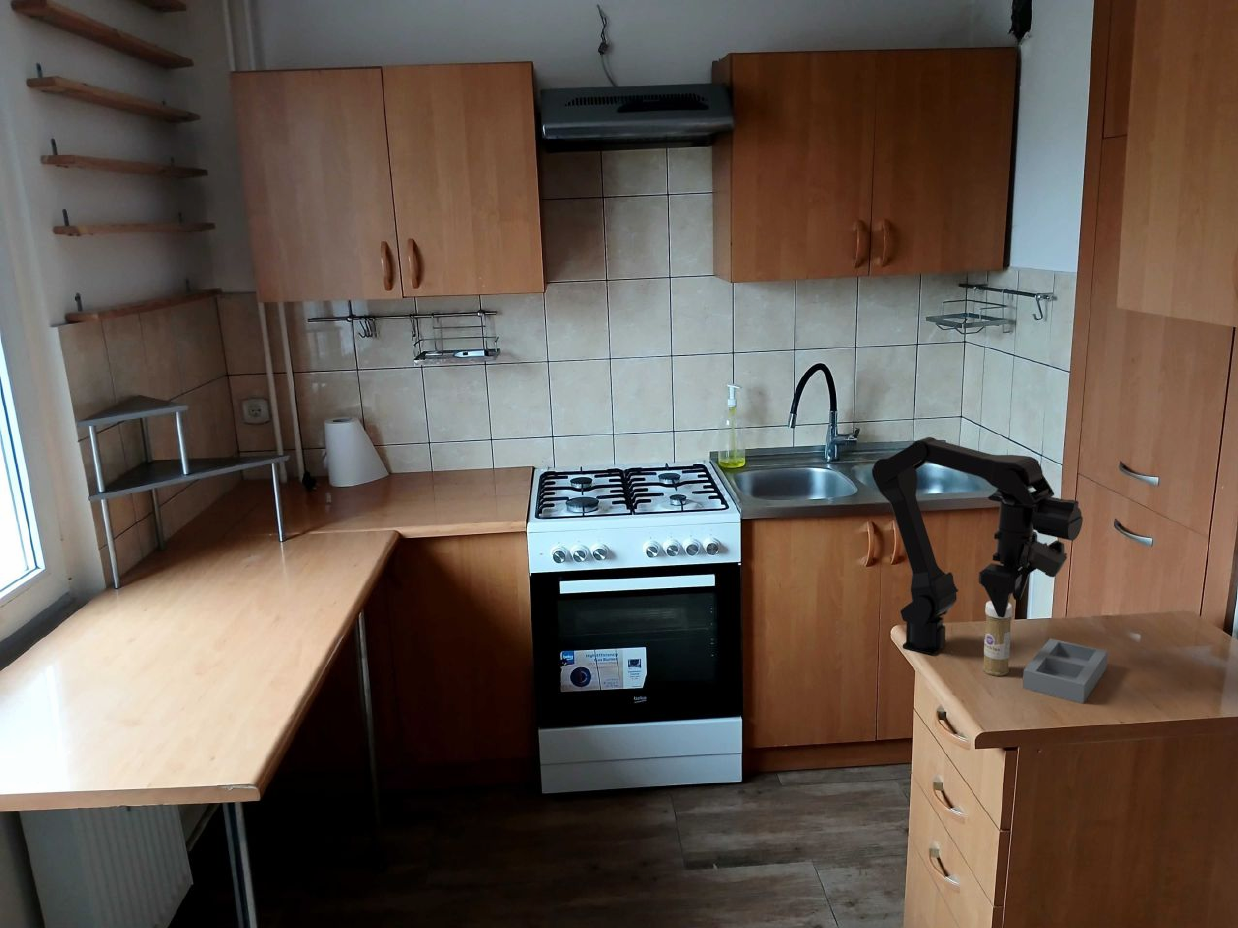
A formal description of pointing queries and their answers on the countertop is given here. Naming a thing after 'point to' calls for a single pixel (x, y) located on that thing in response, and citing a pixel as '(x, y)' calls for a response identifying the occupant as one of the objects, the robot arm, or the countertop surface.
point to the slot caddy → (1065, 670)
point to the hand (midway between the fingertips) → (1009, 608)
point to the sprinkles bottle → (997, 641)
